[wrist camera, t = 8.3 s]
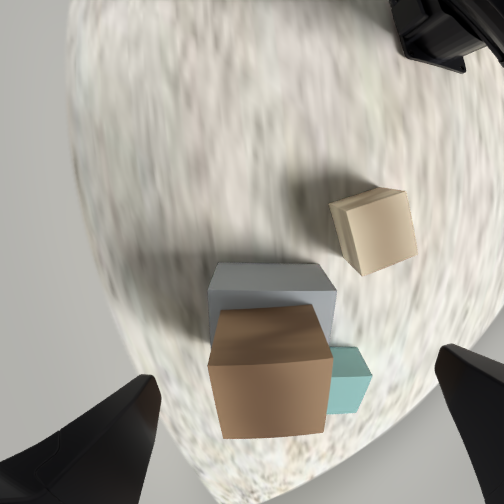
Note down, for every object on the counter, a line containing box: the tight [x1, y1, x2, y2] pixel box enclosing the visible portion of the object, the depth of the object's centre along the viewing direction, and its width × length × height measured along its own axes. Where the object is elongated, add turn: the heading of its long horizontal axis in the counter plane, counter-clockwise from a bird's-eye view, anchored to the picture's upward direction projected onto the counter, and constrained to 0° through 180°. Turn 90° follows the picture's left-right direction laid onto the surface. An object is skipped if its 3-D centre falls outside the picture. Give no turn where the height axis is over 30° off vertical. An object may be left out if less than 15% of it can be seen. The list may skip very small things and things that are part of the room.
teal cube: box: [326, 347, 372, 414], centre depth 20 cm, size 4×4×4 cm
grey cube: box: [208, 262, 337, 349], centre depth 18 cm, size 7×7×5 cm
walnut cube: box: [208, 304, 333, 439], centre depth 14 cm, size 5×5×5 cm
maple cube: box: [329, 187, 418, 277], centre depth 17 cm, size 4×4×4 cm
